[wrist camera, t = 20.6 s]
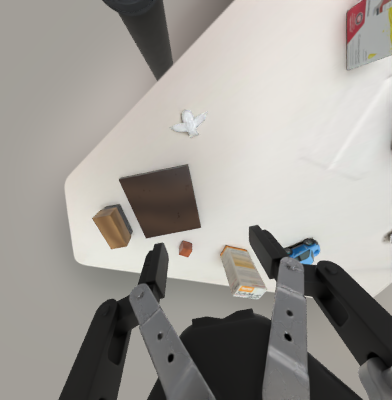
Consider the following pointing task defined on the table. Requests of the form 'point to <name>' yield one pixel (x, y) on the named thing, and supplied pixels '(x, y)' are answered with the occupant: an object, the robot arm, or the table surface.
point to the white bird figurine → (189, 123)
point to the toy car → (304, 251)
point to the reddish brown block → (185, 249)
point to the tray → (162, 200)
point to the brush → (113, 226)
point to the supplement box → (242, 273)
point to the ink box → (369, 32)
